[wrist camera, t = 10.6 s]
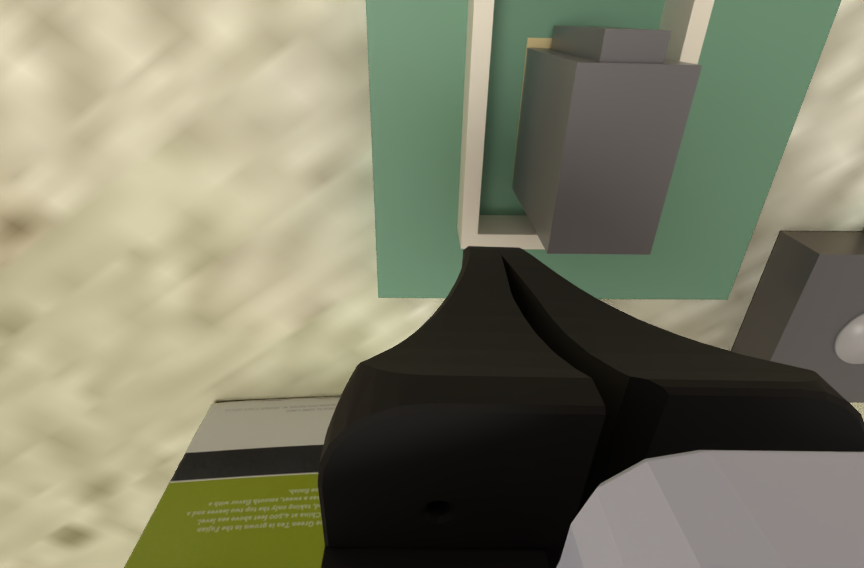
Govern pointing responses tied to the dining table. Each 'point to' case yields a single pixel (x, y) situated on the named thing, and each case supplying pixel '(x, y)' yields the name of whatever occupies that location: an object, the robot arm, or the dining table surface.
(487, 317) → the robot arm
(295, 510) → the tea box
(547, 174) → the plug
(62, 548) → the dining table surface
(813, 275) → the grey flat block
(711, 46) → the board
